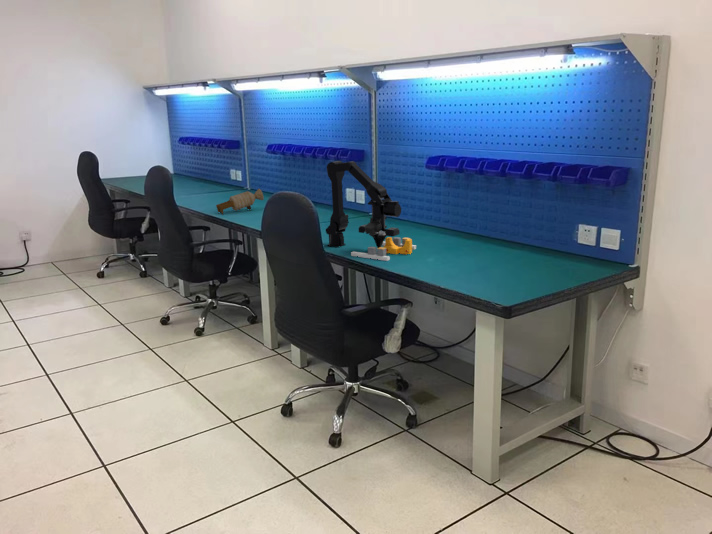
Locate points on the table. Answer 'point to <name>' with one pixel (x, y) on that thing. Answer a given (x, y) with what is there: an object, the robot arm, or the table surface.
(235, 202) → the brown toy figure
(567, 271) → the table surface
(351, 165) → the robot arm
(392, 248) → the pipe clamp
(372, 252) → the collar track
